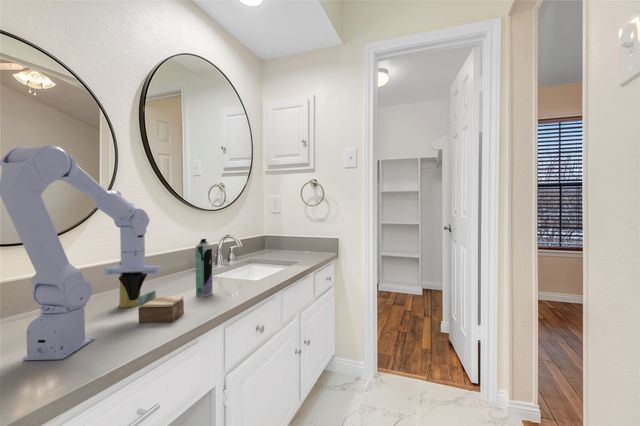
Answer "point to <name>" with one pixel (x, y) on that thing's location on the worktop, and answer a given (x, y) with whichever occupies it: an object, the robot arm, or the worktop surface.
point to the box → (161, 313)
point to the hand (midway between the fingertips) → (133, 299)
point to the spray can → (203, 269)
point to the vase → (126, 297)
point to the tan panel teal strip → (157, 300)
